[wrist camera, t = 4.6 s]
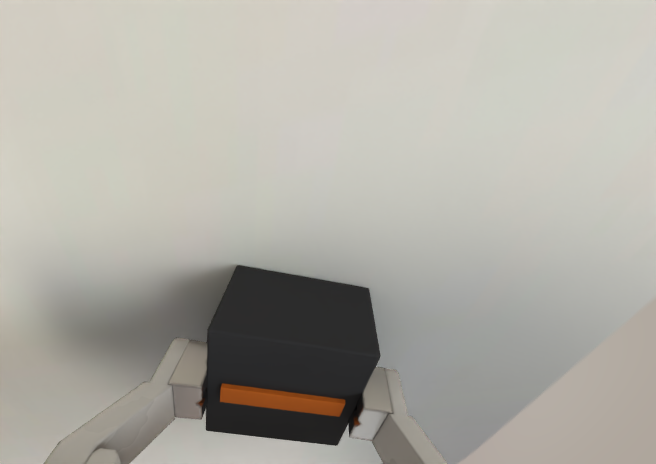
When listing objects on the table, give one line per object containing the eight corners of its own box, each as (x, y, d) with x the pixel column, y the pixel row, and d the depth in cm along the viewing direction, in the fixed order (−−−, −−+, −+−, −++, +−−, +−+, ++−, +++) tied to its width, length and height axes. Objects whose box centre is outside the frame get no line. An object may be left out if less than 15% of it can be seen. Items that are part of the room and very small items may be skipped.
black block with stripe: (369, 287, 11) (382, 361, 8) (336, 374, 14) (338, 451, 11) (236, 264, 11) (204, 334, 8) (229, 359, 13) (203, 436, 11)
